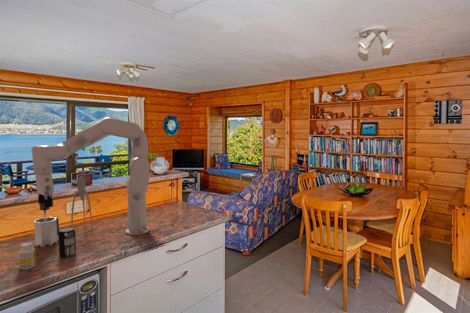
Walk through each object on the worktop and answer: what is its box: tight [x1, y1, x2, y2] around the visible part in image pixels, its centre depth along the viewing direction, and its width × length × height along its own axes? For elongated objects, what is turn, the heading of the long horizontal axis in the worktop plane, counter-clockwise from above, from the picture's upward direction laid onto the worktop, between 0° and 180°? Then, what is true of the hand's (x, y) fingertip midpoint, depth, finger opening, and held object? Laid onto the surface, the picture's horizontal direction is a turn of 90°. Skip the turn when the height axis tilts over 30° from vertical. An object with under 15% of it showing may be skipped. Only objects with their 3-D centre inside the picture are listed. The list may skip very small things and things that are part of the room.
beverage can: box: [57, 226, 77, 258], centre depth 130 cm, size 7×7×12 cm
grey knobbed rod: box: [39, 202, 51, 222], centre depth 143 cm, size 6×6×18 cm
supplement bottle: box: [18, 241, 37, 270], centre depth 119 cm, size 5×5×10 cm
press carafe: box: [33, 216, 60, 248], centre depth 144 cm, size 12×9×12 cm
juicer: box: [70, 176, 93, 230], centre depth 165 cm, size 10×9×30 cm
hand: (45, 205), depth 142 cm, fingers open, 9 cm apart
